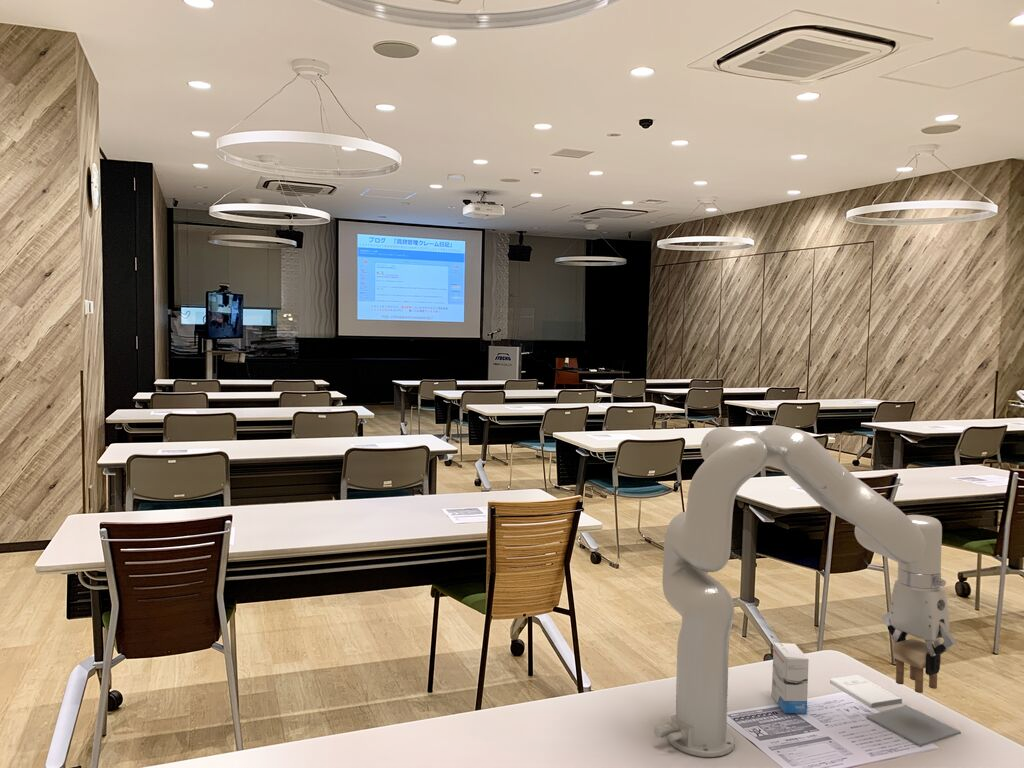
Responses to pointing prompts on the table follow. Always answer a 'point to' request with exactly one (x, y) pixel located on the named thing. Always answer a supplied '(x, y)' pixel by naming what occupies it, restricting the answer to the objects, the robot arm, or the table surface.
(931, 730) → the mat
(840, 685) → the external hard drive
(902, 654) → the stool
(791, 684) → the ink box
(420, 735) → the table surface
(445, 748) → the table surface
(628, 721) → the table surface
